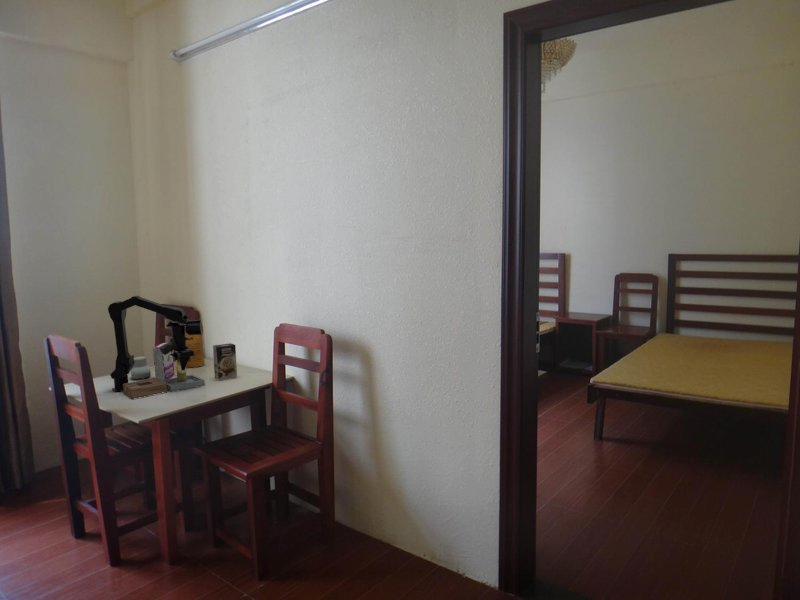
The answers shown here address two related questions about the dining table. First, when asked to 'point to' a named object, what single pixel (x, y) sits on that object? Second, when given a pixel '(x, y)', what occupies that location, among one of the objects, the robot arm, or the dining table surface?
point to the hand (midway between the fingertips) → (181, 369)
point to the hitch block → (144, 388)
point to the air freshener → (140, 368)
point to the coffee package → (195, 350)
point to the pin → (180, 372)
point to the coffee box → (224, 361)
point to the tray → (183, 383)
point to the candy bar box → (163, 364)
